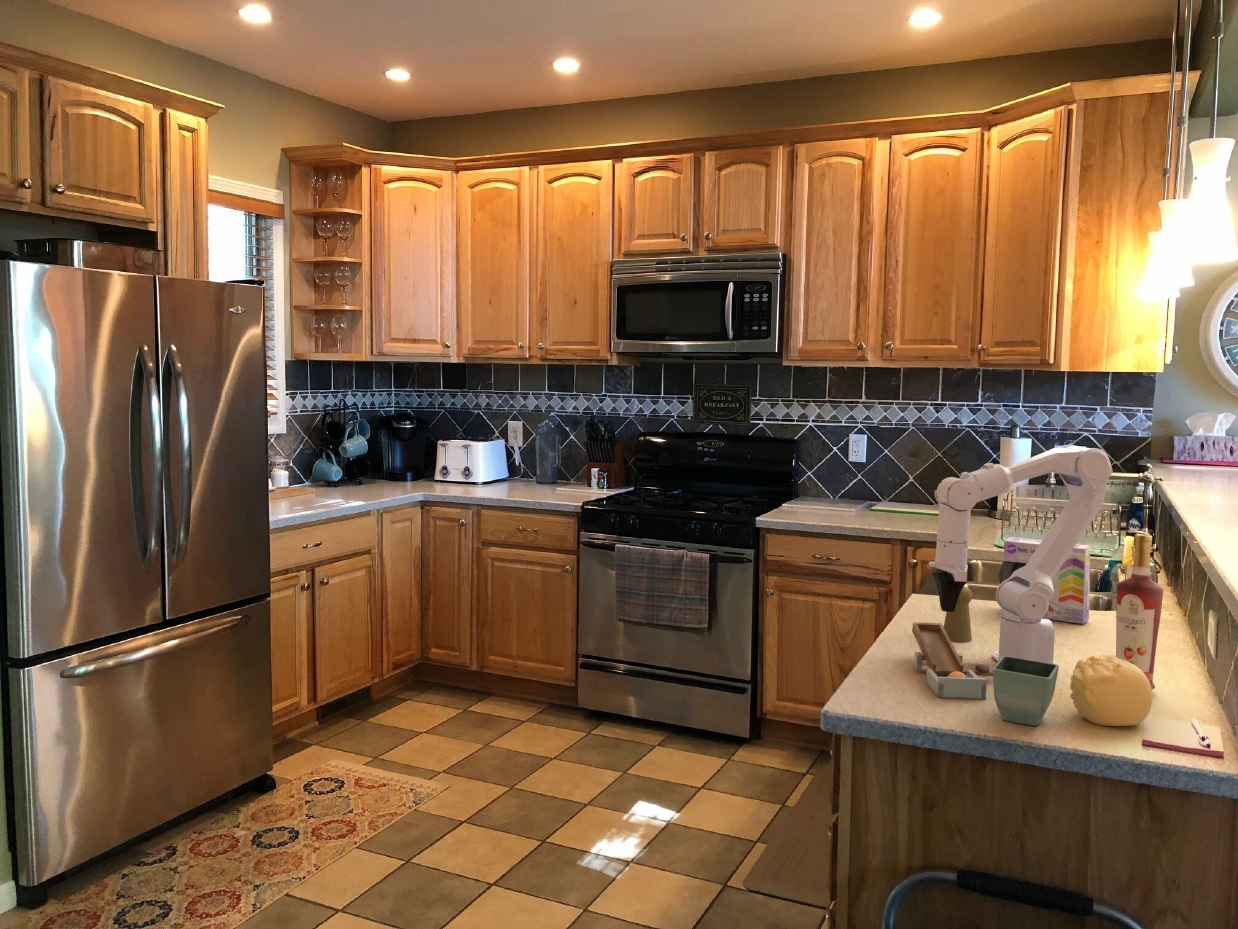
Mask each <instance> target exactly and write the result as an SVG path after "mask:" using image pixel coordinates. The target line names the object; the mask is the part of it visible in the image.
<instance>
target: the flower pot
mask: <svg viewBox="0 0 1238 929" xmlns="http://www.w3.org/2000/svg"><path fill="white" fill-rule="evenodd" d="M1059 667H1060V665H1059V664H1056V663H1053V664H1051V663H1045V662H1039V661H1033V660H1027V659H1022V658H1016V657H1010V656H1002V657H1001V658H1000V660H999V661H998V662H996V664H995V665H994V666H992V671H993V676H992V684H993V686H992V687H993V696H994V701H995V704H996V708H997V710H998V712H999V714H1000V716H1001V717H1002V719H1003V720H1004V721H1007V722H1012V723H1017V724H1022V725H1026V726H1027V725H1028V726H1032V727H1036V726H1038V725H1039V724H1040V722H1041V721H1042V719H1043V717H1044V716H1045V714H1046V712H1047V710H1048V709H1049V707H1050V705H1051V703H1052V700H1053V697H1054V693H1055V690H1056V685H1057V680H1058V673H1059V669H1060V668H1059Z"/></svg>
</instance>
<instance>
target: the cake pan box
mask: <svg viewBox="0 0 1238 929" xmlns="http://www.w3.org/2000/svg"><path fill="white" fill-rule="evenodd" d="M1042 540H1043V539H1032V538H1022V537H1013V536H1010V537H1008V538H1006V539H1005V540H1004V541H1003V561H1002V563H1001V565H1000V567H999V573H998V580H999V585H1000V584H1001V583H1002V582H1004V581H1005V580H1007V579H1008V578H1009V577H1010V576H1011V575H1012V574H1013V572H1014V571H1016V570H1018V569H1020V568H1022V567H1024V566H1025V565H1026V564H1027V563H1028V561H1029V560H1030V558H1031V557H1032V555H1033V554H1034V552H1035V551H1036V549H1037V547H1038V546H1039V544H1040V543H1041V541H1042ZM1090 575H1091V545H1087V544H1078V543H1077V544H1076V545H1075V547H1074V548H1073V550H1072V551H1071V553H1070V554H1069V556H1068V557H1067V559H1066V560H1065V562H1064V563H1063V565H1062V566H1061V568H1060V569H1059V571H1058V572H1057V574H1056V575H1055V577H1054V578H1053V580H1052V584H1053V589H1054V594H1053V595H1052V597H1051V599H1050V601H1049V607H1048V611H1047V613H1046V614H1045V616H1044V617H1043V618H1042V619H1048V620H1050V621H1051V620H1053V621H1059V622H1060V621H1061V622H1065V623H1066V622H1067V623H1072V624H1073V623H1074V624H1081V625H1083V624H1086V623H1087V622H1089V619H1090V590H1091V587H1090V586H1091V579H1090V578H1091V576H1090Z"/></svg>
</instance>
